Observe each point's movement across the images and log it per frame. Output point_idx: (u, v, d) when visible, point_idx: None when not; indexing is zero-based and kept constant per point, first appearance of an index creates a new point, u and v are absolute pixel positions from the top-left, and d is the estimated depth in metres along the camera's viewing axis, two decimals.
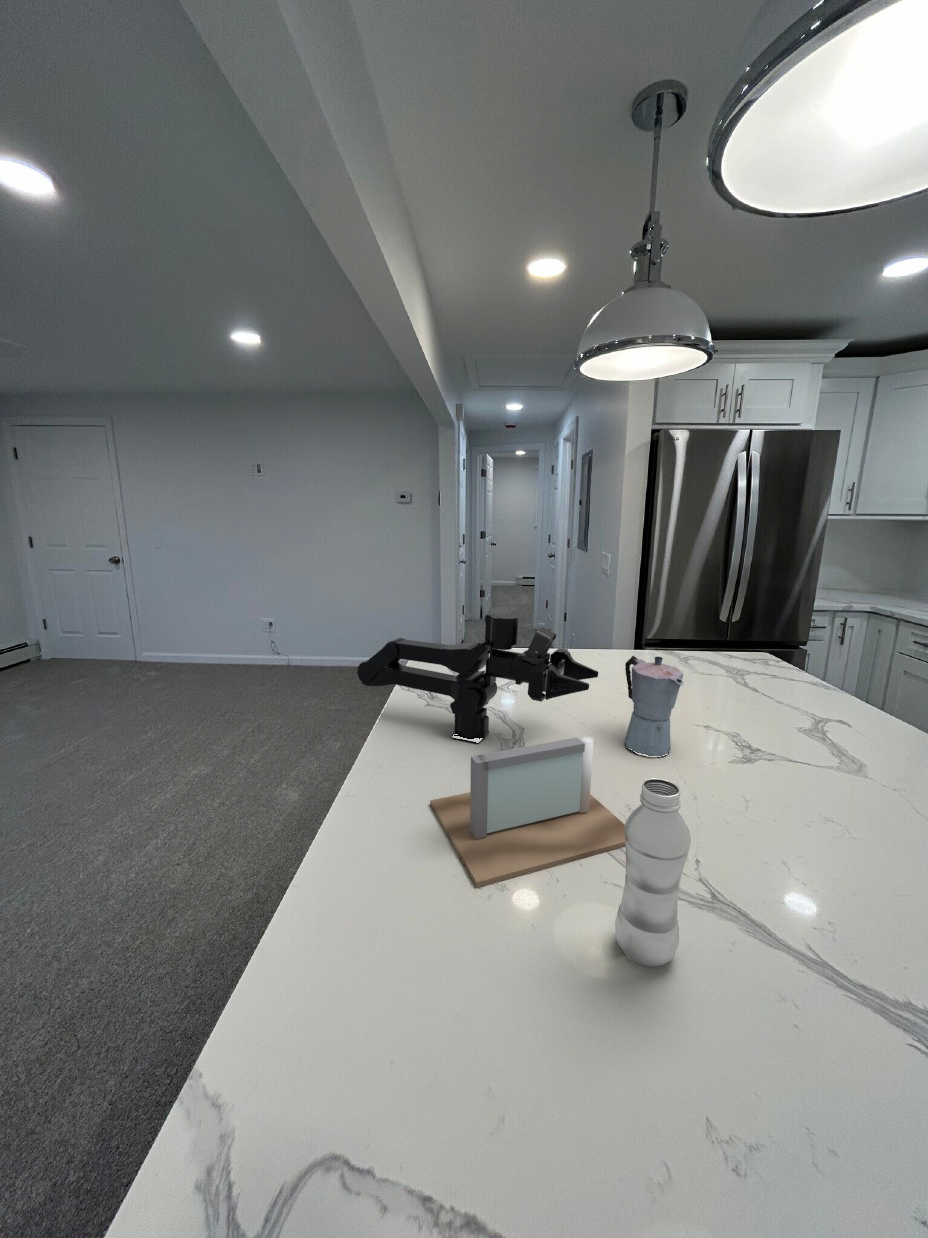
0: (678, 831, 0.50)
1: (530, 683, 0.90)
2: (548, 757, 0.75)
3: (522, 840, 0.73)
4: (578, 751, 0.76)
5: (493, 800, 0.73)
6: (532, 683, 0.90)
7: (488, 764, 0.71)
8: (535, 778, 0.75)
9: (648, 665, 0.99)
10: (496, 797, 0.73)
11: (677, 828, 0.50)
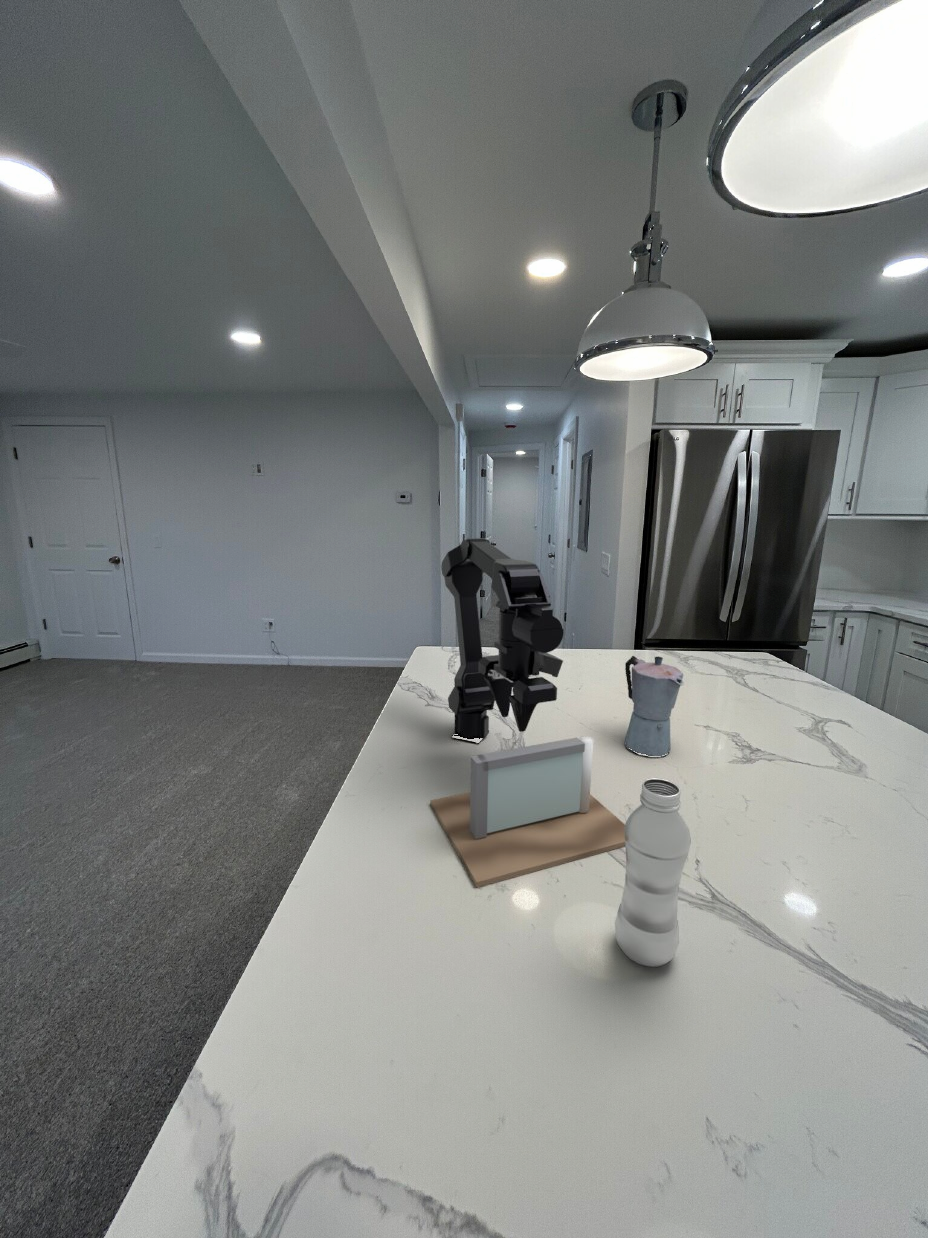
0: (678, 831, 0.50)
1: (542, 688, 0.78)
2: (548, 757, 0.75)
3: (522, 840, 0.73)
4: (578, 751, 0.76)
5: (493, 800, 0.73)
6: (542, 690, 0.78)
7: (488, 764, 0.71)
8: (535, 778, 0.75)
9: (648, 665, 0.99)
10: (496, 797, 0.73)
11: (677, 828, 0.50)
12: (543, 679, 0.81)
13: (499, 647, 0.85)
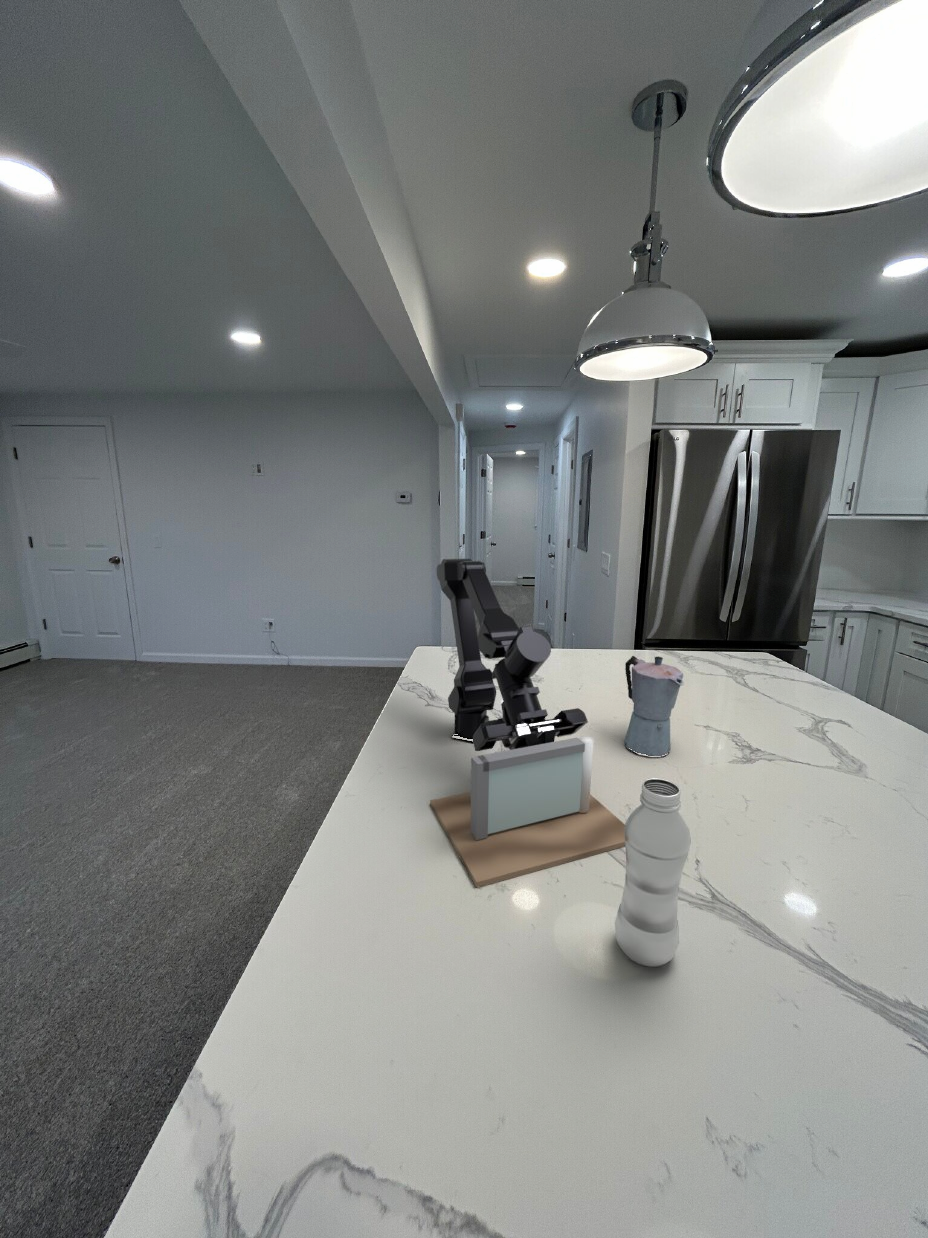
0: (678, 831, 0.50)
1: None
2: (548, 757, 0.75)
3: (522, 840, 0.73)
4: (578, 751, 0.76)
5: (494, 801, 0.73)
6: None
7: (489, 765, 0.71)
8: (535, 778, 0.75)
9: (648, 665, 0.99)
10: (497, 798, 0.73)
11: (677, 828, 0.50)
12: None
13: (523, 691, 0.83)
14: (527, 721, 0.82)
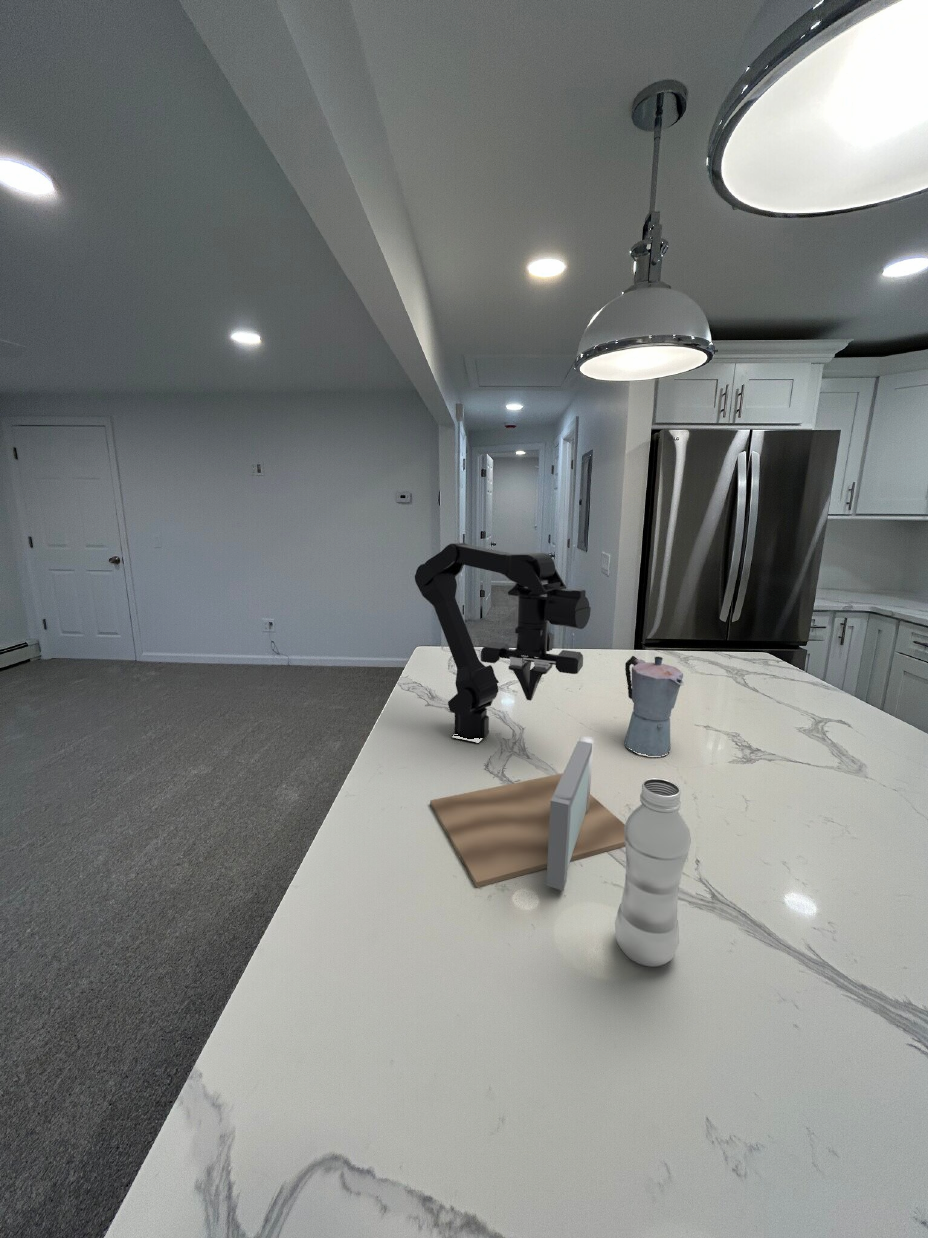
0: (678, 831, 0.50)
1: (580, 657, 0.91)
2: (584, 769, 0.71)
3: (522, 840, 0.73)
4: (590, 753, 0.76)
5: None
6: (580, 659, 0.91)
7: (571, 800, 0.62)
8: (578, 796, 0.70)
9: (648, 665, 0.99)
10: (569, 833, 0.65)
11: (677, 828, 0.50)
12: (568, 651, 0.94)
13: (525, 631, 0.92)
14: None
